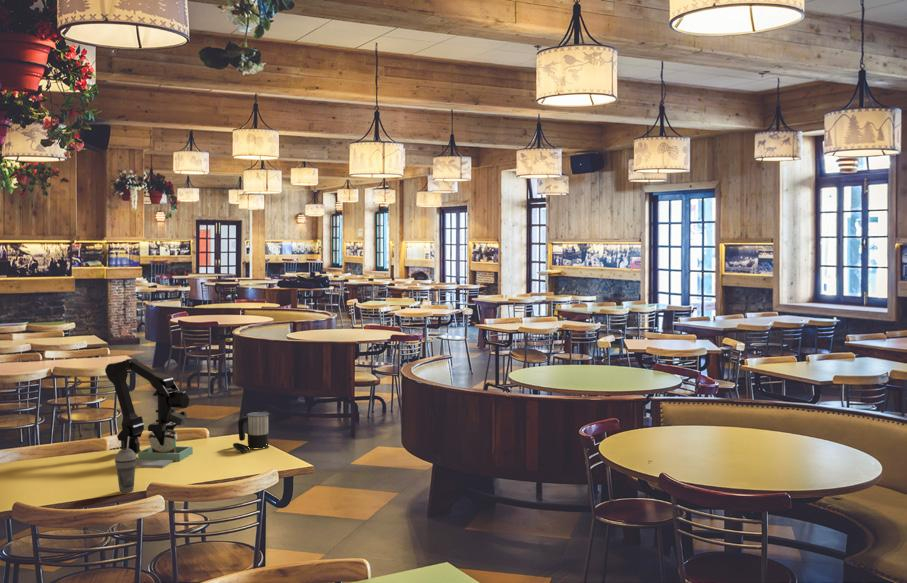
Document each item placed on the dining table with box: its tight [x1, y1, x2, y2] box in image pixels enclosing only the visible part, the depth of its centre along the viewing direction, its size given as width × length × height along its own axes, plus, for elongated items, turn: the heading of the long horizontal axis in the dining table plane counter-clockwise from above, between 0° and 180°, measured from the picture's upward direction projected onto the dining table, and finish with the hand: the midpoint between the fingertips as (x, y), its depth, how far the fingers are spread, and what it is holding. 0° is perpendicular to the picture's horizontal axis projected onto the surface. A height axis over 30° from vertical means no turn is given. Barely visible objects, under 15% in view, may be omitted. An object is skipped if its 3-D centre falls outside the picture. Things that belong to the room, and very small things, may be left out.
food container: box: [147, 429, 178, 453], centre depth 339 cm, size 12×6×10 cm, turn 83°
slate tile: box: [135, 459, 173, 468], centre depth 326 cm, size 14×8×1 cm, turn 83°
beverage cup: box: [114, 436, 138, 494], centre depth 289 cm, size 7×7×20 cm
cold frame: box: [137, 445, 194, 462], centre depth 338 cm, size 18×12×3 cm, turn 83°
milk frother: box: [232, 411, 270, 453], centre depth 350 cm, size 14×16×15 cm
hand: (165, 443), depth 338 cm, fingers closed on food container, 6 cm apart
